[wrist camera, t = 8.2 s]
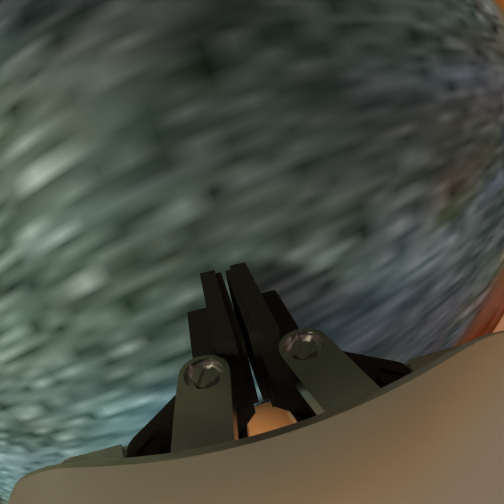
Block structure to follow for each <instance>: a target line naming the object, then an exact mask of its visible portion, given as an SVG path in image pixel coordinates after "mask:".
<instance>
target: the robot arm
mask: <svg viewBox="0 0 504 504" xmlns="http://www.w3.org/2000/svg"><path fill="white" fill-rule="evenodd" d="M230 269H231V270H228V271H226V276H227V281H228V285H229V290H230V294H231V299H232V303H233V307H234V309H233V307H232V304H231V301H230V298H229V295H228V292H227V289H226V286H225V283H224V280H223V277H222V274H221V272H220V273H216V274H215V270H212V271H208V272H204V273H200V276H201V281H202V287H203V292H204V297H205V302H206V307H207V308H203V309H199V310H195V311H191V312H188V322H189V331H190V340H191V348H192V356H193V359H191V360H189V361H188V362H187V363H186V364H184V365H183V367H182V368H181V369H180V372H179V375H178V381H177V390H176V395H175V396H174V397H173V398H172V399H171V400H170V401H169V402H168V403H167V404H166V405H165V407H164V408H163V409H162V410H161V411H160V412H159V413H158V414H157V415H156V416H155V417H154V418H153V419H152V420H151V421H150V422H149V423H148V424H147V425H146V426H145V427H144V428H143V429H142V430H141V431H140V432H139V433H138V434H137V435H136V436H135V437H134V438H133V439H132V440H131V442H130V443H129V445H128V446H125V447H123V446H122V445H121V444H120V445H116V446H113V447H109V448H106V449H102V450H99V451H95V452H91V453H87V454H83V455H79V456H75V457H71V458H68V459H66V460H64V461H63V462H62V463H61V464H56V465H52V466H47V467H44V468H41V469H38V470H36V471H33V472H31V473H29V474H27V475H25V476H24V477H22V478H20V480H19V481H18V482H17V483H16V484H15V486H14V488H13V490H12V492H11V495H10V498H9V502H8V504H504V331H500V332H495V333H490V334H487V335H484V336H482V337H479V338H476V339H474V340H472V341H470V342H467V343H465V344H463V345H461V346H460V345H459V346H453V347H450V348H447V349H444V350H441V351H438V352H435V353H431V354H428V355H425V356H421V357H418V358H414V359H411V360H408V362H407V364H405V365H404V364H402V363H400V362H396V361H391V360H386V359H380V358H375V357H369V356H364V355H359V354H354V353H349V352H344V351H342V350H341V349H340V348H339V347H338V346H337V345H336V344H335V343H334V342H333V341H332V340H331V339H330V338H329V337H328V336H327V335H325V334H324V333H322V332H321V331H318V330H316V329H309V328H304V329H299V328H298V326H297V325H296V323H295V321H294V320H293V318H292V316H291V315H290V313H289V312H288V310H287V308H286V307H285V305H284V303H283V302H282V300H281V299H280V297H279V295H278V294H277V292H276V291H275V290H273V291H269V292H265V293H262V294H261V292H260V290H259V289H258V287H257V285H256V283H255V281H254V279H253V277H252V275H251V273H250V271H249V269H248V268H247V266H246V264H245V262H244V263H240V264H236V265H232V266H230ZM248 359H249V360H248ZM249 362H250V364H251V367H252V370H253V373H254V376H255V378H256V381H257V384H258V387H259V389H260V392H261V395H262V398H263V400H264V401H265V400H268V399H270V402H271V404H272V407H277V408H280V409H283V410H286V411H287V414H288V416H289V418H290V419H291V421H292V422H293V424H290V425H287V426H284V427H281V428H278V429H274V430H271V431H268V432H264V433H261V434H257V435H253V436H250V430H249V426H248V423H249V421H250V420H251V419H252V417H253V416H254V414H255V413H256V412H255V408H254V403H258V402H259V401H258V397H257V393H256V389H255V385H254V380H253V376H252V372H251V368H250V364H249Z"/></svg>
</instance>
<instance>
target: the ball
mask: <svg viewBox="0 0 504 504" xmlns="http://www.w3.org/2000/svg"><path fill="white" fill-rule="evenodd" d="M254 408H255V412H256V413H255V414H254V416H253V417H252V419H251V420H250V421H249V423H248V426H249V430H250V436H253V435H257V434H261V433H264V432H268V431H271V430H274V429H278V428H281V427H284V426H287V425H290V424H293V422H292V421H291V419H290V418H289V416H288V414H287V411H286V410H283V409H280V408H277V407H272V404H271V402H266V403H263V404H260V405H257V406H255V407H254Z"/></svg>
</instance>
